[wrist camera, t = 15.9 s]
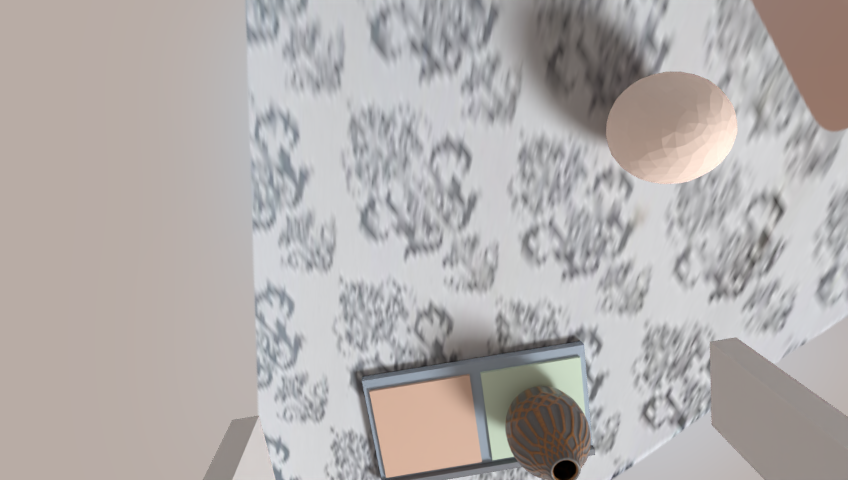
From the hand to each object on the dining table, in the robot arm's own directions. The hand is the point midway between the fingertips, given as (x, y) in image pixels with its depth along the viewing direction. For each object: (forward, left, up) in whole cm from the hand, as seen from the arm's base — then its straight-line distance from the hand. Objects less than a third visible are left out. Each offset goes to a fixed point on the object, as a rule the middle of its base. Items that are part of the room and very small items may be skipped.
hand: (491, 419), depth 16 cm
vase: (+20, +7, -31) cm, 37 cm away
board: (+20, +2, -32) cm, 38 cm away
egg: (-4, +18, -32) cm, 37 cm away
